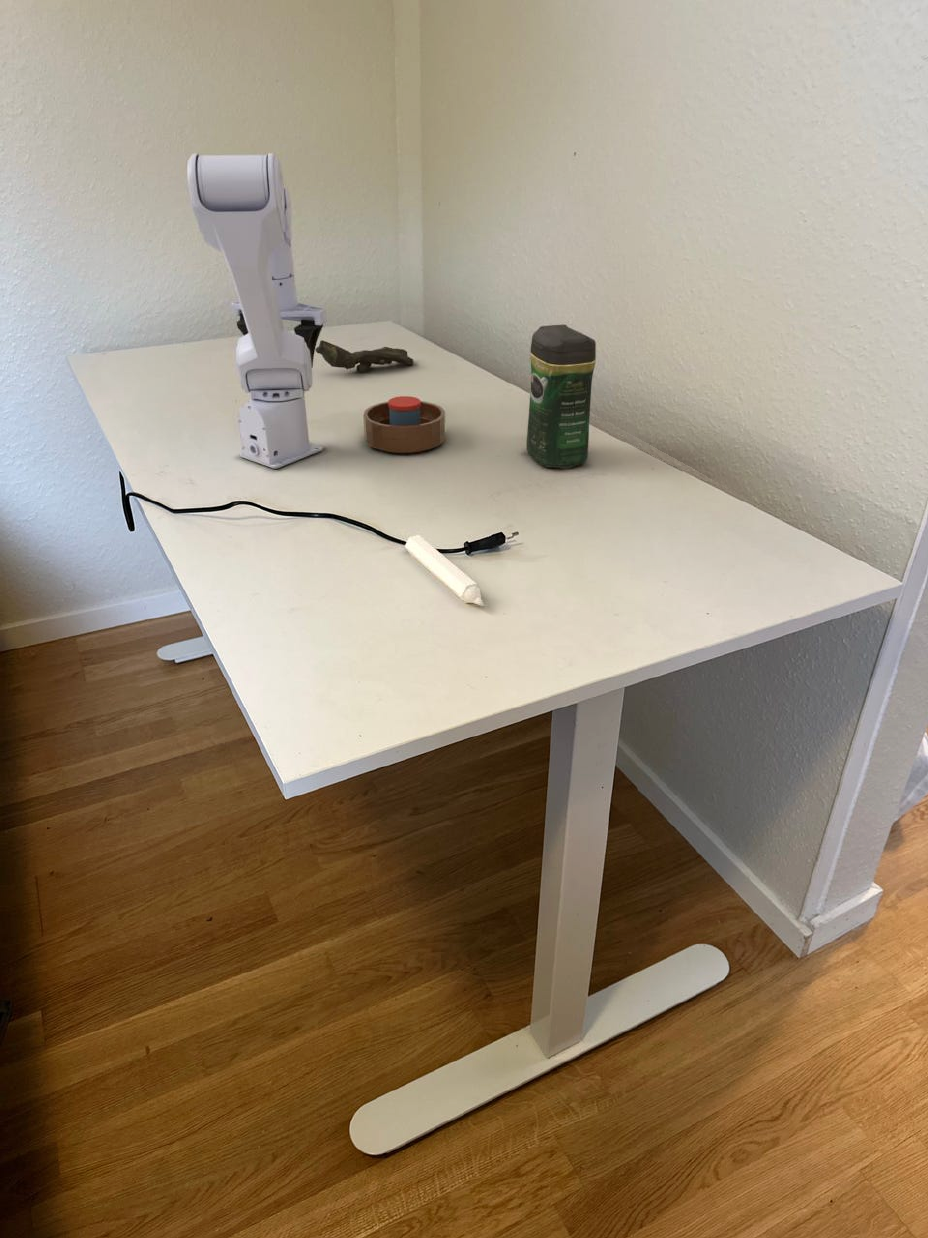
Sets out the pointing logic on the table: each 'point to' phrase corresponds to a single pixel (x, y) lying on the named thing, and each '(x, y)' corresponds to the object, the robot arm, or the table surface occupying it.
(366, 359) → the brown long irregular piece
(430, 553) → the marker
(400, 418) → the container
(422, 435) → the bowl
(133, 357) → the table surface
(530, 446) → the coffee jar
